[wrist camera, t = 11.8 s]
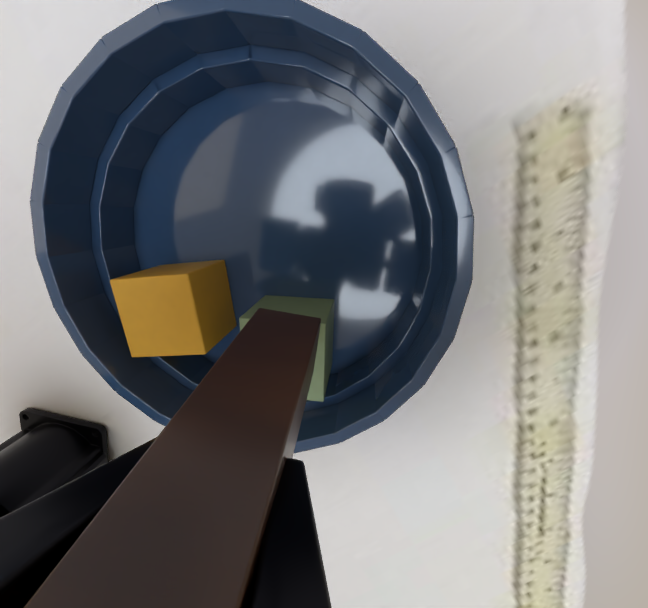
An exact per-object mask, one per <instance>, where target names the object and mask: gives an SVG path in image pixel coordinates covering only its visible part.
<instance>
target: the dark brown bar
mask: <svg viewBox="0 0 648 608" xmlns="http://www.w3.org/2000/svg"><path fill="white" fill-rule="evenodd" d="M320 325H321V318H317V317H311V316H305V315H299V314H293V313H287V312H282V311H276V310H270V309H264V308H258V309H257V311H256V312H255V313H254V315H253V316H252V317H251V318H250V320H249V321H248V322H247V323H246V325H245V326H244V327H243V329H242V330H241V331H240V332H239V334H238V335H237V336H236V337H235V339H234V340H233V341H232V343H231V344H230V345H229V346H228V348H227V349H226V350H225V351H224V353H223V354H222V355H221V357H220V358H219V359H218V360H217V362H216V363H215V364H214V366H213V367H212V368H211V369H210V371H209V372H208V373H207V374H206V376H205V377H204V378H203V380H202V381H201V382H200V383H199V385H198V386H197V387H196V388H195V390H194V391H193V392H192V394H191V395H190V396H189V397H188V399H187V400H186V401H185V402H184V404H183V405H182V406H181V408H180V409H179V410H178V411H177V413H176V414H175V415H174V416H173V418H172V419H171V420H170V422H169V423H168V424H167V425H166V427H165V428H164V429H163V430H162V432H161V433H160V434H159V436H158V437H157V438H156V439H155V441H154V442H153V443H152V444H151V446H150V447H149V448H148V450H147V451H146V452H145V453H144V455H143V456H142V457H141V459H140V460H139V461H138V462H137V464H136V465H135V466H134V467H133V469H132V470H131V471H130V473H129V474H128V475H127V476H126V478H125V479H124V480H123V481H122V483H121V484H120V485H119V487H118V488H117V489H116V490H115V492H114V493H113V494H112V495H111V497H110V498H109V499H108V501H107V502H106V503H105V504H104V506H103V507H102V508H101V509H100V511H99V512H98V513H97V515H96V516H95V517H94V518H93V520H92V521H91V522H90V523H89V525H88V526H87V527H86V529H85V530H84V531H83V532H82V534H81V535H80V536H79V538H78V539H77V540H76V541H75V543H74V544H73V545H72V546H71V548H70V549H69V550H68V552H67V553H66V554H65V555H64V557H63V558H62V559H61V560H60V562H59V563H58V564H57V566H56V567H55V568H54V569H53V571H52V572H51V573H50V574H49V576H48V577H47V578H46V580H45V581H44V582H43V583H42V585H41V586H40V587H39V588H38V590H37V591H36V592H35V594H34V595H33V596H32V597H31V599H30V600H29V601H28V602H27V604H26V605H25V606H24V608H250V606H251V601H252V595H253V590H254V584H255V579H256V573H257V567H258V562H259V556H260V551H261V545H262V539H263V535H264V531H265V528H266V524H267V521H268V518H269V514H270V511H271V508H272V504H273V501H274V498H275V495H276V491H277V488H278V485H279V482H280V479H281V475H282V472H283V469H284V466H285V463H286V459H287V458H292V457H293V453H294V449H295V445H296V441H297V437H298V433H299V429H300V425H301V421H302V417H303V413H304V408H305V404H306V400H307V396H308V392H309V388H310V384H311V380H312V376H313V372H314V365H315V359H316V352H317V345H318V338H319V332H320Z"/></svg>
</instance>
